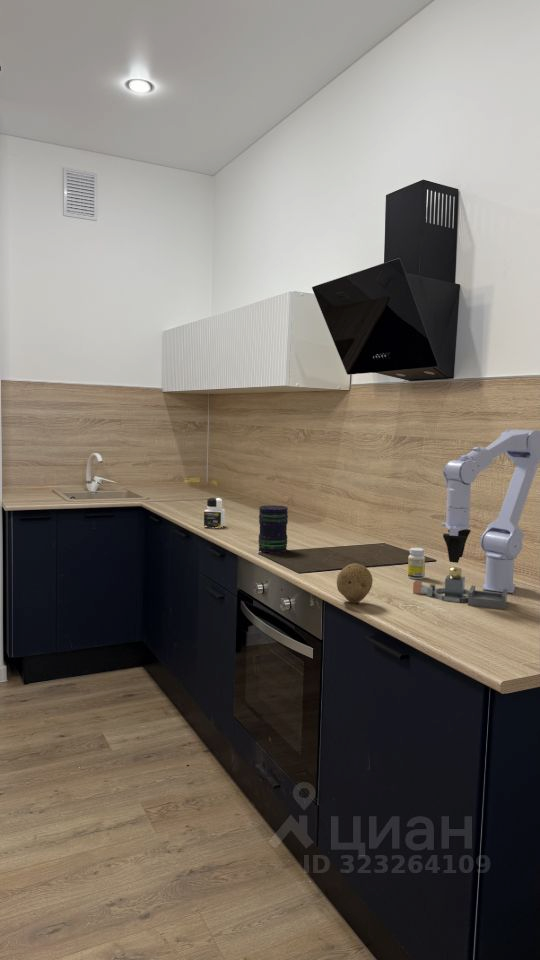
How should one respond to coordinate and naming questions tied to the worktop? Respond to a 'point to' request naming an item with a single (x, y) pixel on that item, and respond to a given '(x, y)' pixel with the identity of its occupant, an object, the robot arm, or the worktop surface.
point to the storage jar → (273, 529)
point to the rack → (487, 598)
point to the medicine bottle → (214, 513)
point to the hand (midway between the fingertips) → (455, 559)
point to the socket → (435, 594)
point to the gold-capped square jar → (454, 583)
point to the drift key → (420, 588)
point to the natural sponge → (354, 582)
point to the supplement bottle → (416, 563)
